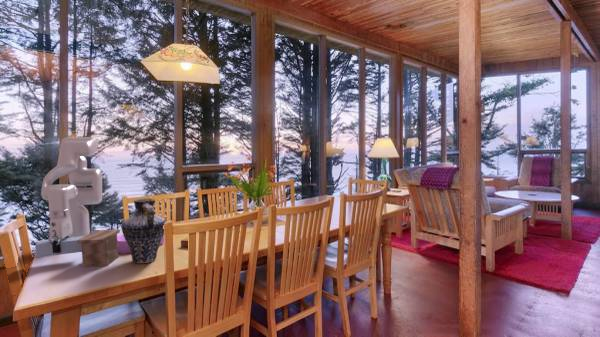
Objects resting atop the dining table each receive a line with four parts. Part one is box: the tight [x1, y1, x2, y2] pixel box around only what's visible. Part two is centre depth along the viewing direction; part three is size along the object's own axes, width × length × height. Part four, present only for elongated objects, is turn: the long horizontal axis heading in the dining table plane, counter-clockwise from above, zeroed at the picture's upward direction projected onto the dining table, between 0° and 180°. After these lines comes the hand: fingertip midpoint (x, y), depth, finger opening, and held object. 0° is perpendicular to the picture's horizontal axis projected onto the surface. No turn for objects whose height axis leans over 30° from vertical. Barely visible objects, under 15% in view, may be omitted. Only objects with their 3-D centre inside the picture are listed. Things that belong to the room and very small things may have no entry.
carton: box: [180, 236, 189, 249], centre depth 190 cm, size 8×16×4 cm, turn 165°
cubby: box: [77, 229, 121, 268], centre depth 160 cm, size 11×17×13 cm, turn 5°
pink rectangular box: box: [117, 234, 165, 254], centre depth 183 cm, size 25×15×13 cm, turn 126°
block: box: [35, 236, 84, 258], centre depth 159 cm, size 18×6×6 cm, turn 115°
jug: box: [121, 197, 167, 264], centre depth 161 cm, size 21×19×30 cm
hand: (62, 249), depth 160 cm, fingers closed on block, 7 cm apart
